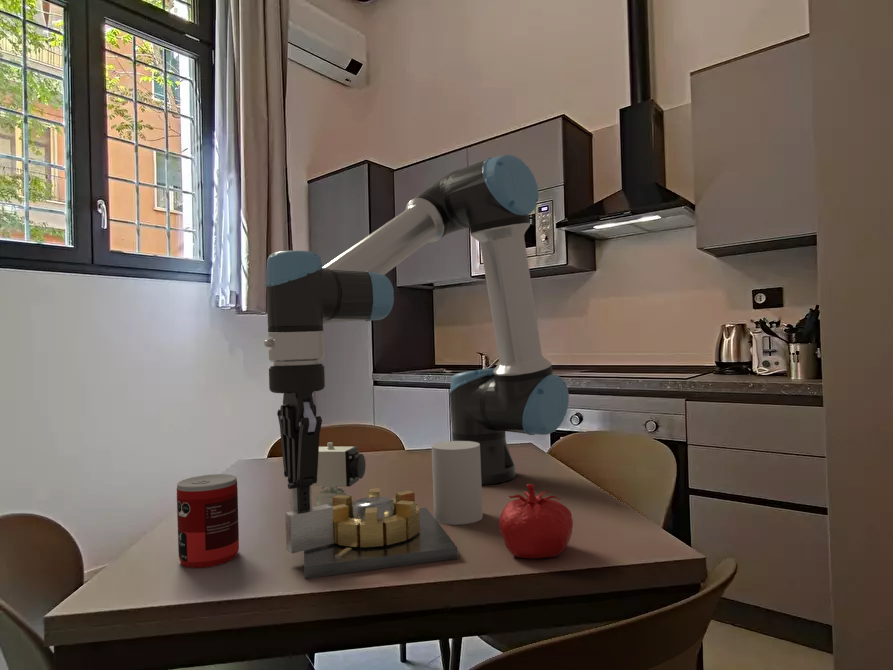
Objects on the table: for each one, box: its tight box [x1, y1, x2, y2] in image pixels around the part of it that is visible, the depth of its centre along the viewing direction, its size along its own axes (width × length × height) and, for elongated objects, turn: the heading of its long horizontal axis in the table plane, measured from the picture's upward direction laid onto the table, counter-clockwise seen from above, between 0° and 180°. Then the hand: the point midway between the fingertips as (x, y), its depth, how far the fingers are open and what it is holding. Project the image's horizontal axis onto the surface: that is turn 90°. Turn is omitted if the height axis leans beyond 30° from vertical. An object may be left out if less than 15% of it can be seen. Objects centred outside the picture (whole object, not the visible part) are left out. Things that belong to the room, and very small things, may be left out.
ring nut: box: [284, 487, 420, 554], centre depth 82 cm, size 20×13×5 cm
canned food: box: [176, 473, 240, 569], centre depth 80 cm, size 8×8×11 cm
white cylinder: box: [431, 440, 484, 526], centre depth 95 cm, size 8×8×12 cm
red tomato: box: [498, 483, 574, 560], centre depth 78 cm, size 10×10×9 cm
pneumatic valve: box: [311, 441, 367, 506], centre depth 103 cm, size 6×12×12 cm, turn 78°
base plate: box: [303, 496, 459, 579], centre depth 83 cm, size 20×20×6 cm
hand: (301, 531), depth 79 cm, fingers closed
